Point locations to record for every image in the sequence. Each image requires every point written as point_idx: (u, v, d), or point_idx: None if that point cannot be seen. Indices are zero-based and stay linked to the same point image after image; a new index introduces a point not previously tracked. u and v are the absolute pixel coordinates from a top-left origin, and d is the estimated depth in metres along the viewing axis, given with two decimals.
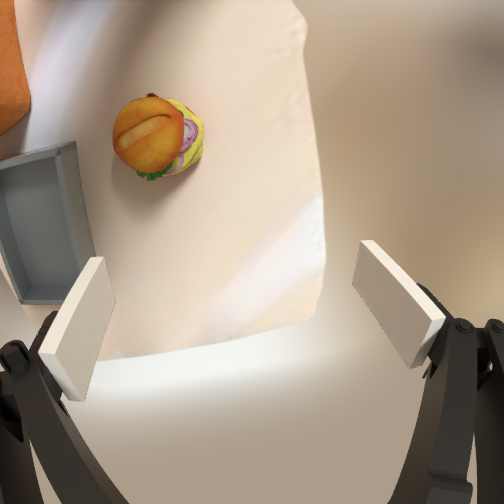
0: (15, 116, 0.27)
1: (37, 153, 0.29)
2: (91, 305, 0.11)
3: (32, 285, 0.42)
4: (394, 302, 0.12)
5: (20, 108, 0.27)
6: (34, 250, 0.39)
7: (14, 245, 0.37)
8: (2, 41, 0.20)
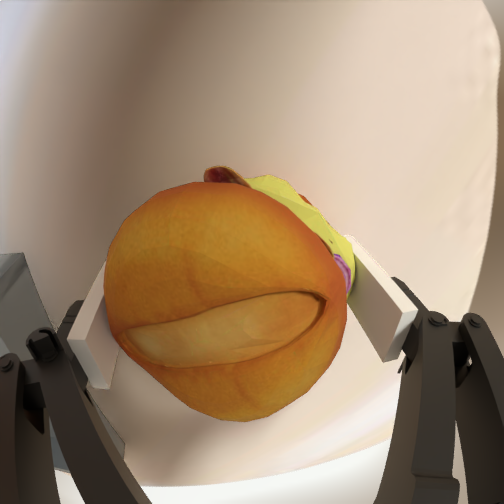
0: None
1: None
2: None
3: None
4: (368, 295, 0.12)
5: None
6: None
7: None
8: None
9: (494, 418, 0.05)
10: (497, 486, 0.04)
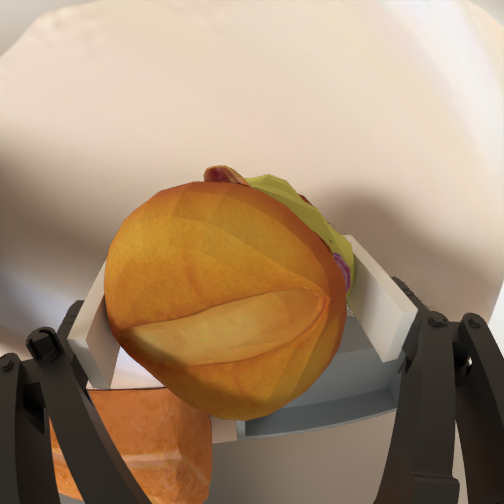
0: (193, 412, 0.31)
1: None
2: None
3: (387, 386, 0.38)
4: (368, 295, 0.12)
5: (185, 407, 0.31)
6: (352, 382, 0.36)
7: (338, 404, 0.37)
8: None
9: (493, 418, 0.05)
10: (497, 486, 0.04)
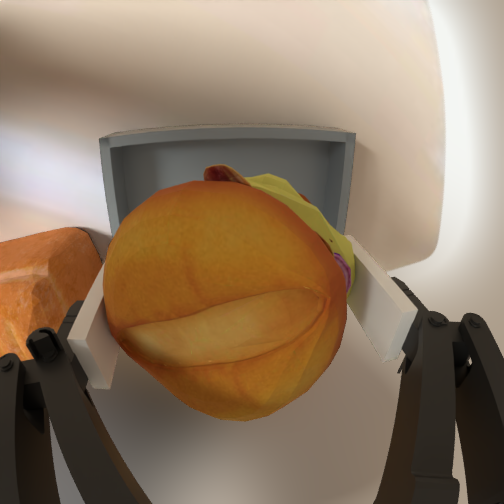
0: (82, 249, 0.29)
1: (104, 177, 0.25)
2: None
3: None
4: (368, 295, 0.12)
5: (74, 239, 0.28)
6: None
7: None
8: None
9: (494, 417, 0.05)
10: (497, 486, 0.04)
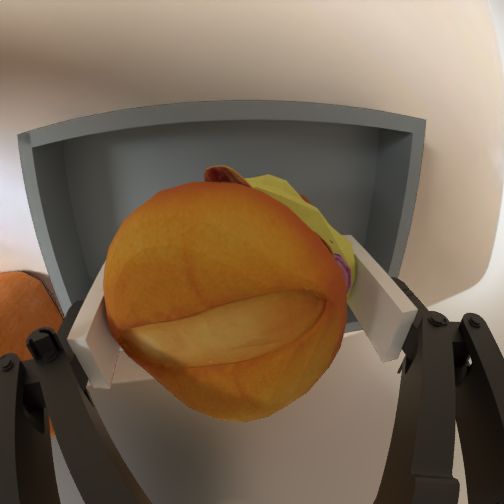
0: (31, 307, 0.19)
1: (29, 196, 0.13)
2: None
3: None
4: (368, 295, 0.12)
5: (20, 293, 0.18)
6: None
7: None
8: None
9: (494, 417, 0.05)
10: (497, 486, 0.04)
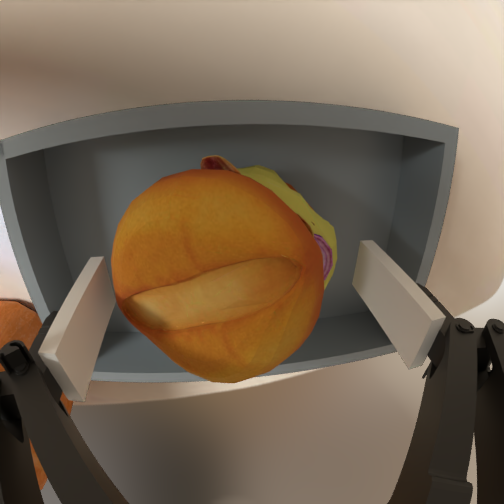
0: (27, 342, 0.17)
1: (5, 215, 0.11)
2: (91, 305, 0.11)
3: (368, 309, 0.22)
4: (394, 302, 0.12)
5: (15, 329, 0.16)
6: None
7: None
8: None
9: None
10: None
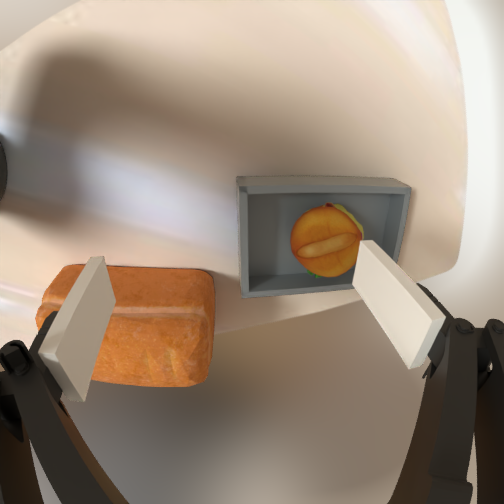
0: (213, 290, 0.43)
1: (240, 216, 0.36)
2: (91, 305, 0.11)
3: None
4: (394, 302, 0.12)
5: (209, 283, 0.42)
6: None
7: None
8: (130, 283, 0.38)
9: None
10: None
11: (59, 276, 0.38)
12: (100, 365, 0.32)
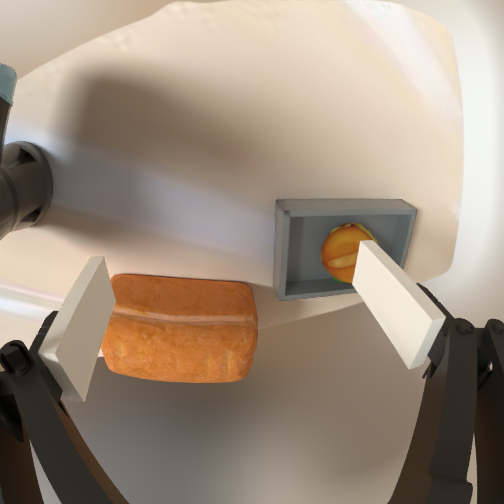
0: None
1: (283, 234, 0.44)
2: (91, 305, 0.11)
3: None
4: (394, 302, 0.12)
5: (251, 294, 0.50)
6: None
7: None
8: (185, 294, 0.46)
9: None
10: None
11: (114, 285, 0.44)
12: (162, 367, 0.40)
